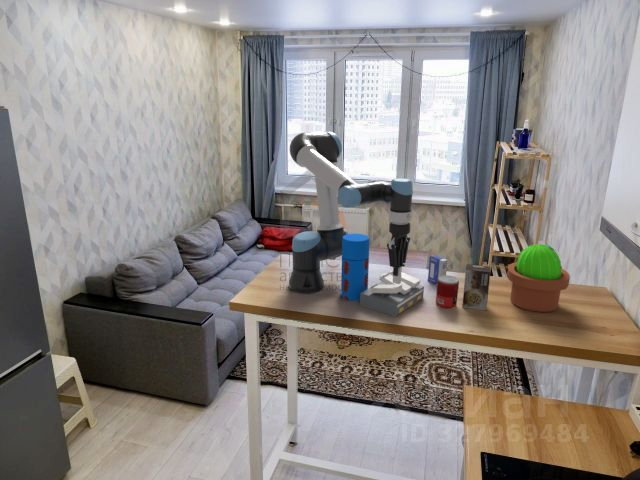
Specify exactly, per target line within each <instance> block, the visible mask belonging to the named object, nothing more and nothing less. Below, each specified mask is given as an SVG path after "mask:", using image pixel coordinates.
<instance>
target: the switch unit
mask: <svg viewBox="0 0 640 480" xmlns="http://www.w3.org/2000/svg"><path fill="white" fill-rule="evenodd" d="M377 284H378V285H387V284H385V283H384V282H382V281H379V282H378V283H377ZM424 291H425V286H424V285H421V284H419V285H418V286H416V287H415V288H413V287H411V290H410V292H408V293H406V294H405V295H404V294H402V293H401V292H398V293H370V289H369V288H368V289H367V290H365V291H363V292H361V293H360V300H359V305H360V306H362V307H366V308H368V309H371V310H374V311H377V312H380V313H382V314H383V313H384V314H385V315H389V316H392V317H394V318H395V317H397V316H398V315H400V314H401V313H403V312H404V311H405V310H407V309H409V308H410V307H412V306H414V305H415V304H416V303H417V302H419V301H420V300H422V299H423V298H424Z"/></svg>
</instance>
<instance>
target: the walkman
mask: <svg viewBox="0 0 640 480" xmlns="http://www.w3.org/2000/svg"><path fill="white" fill-rule="evenodd" d="M428 262H429V263H428V273H427V275H428V276H427V281H428V282H430V283H431V284H435V285H436V284H437V282H438V277H439V276H443V275H447V270H448V268H447V266H448V259H446V258H443V257H441V256H438V255H436V254H432V255H430V256H429V261H428Z"/></svg>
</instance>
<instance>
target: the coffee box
mask: <svg viewBox="0 0 640 480" xmlns="http://www.w3.org/2000/svg"><path fill="white" fill-rule="evenodd" d="M491 271H492V270H491V266H489V265H479V264H478V265H477V264H470V263H469V264H467V263H466V266H465V271H464V273H465V274H464V284H463V294H462V295H463V297H462V306H461V308H463V309H471V310H479V311H487V310H488V308H487V306H488V297H489V290H490V289H489V288H490V279H491Z"/></svg>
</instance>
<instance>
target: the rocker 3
mask: <svg viewBox="0 0 640 480" xmlns="http://www.w3.org/2000/svg"><path fill="white" fill-rule="evenodd" d="M388 273H389V274H390V275H392V276H393V269H391V270H390V271H389V272H388ZM401 281H402V282H404V283H406V284H407V285H409V286H411V287H413V288H415V287H416V286H418V285H421V280H420V279H418V278H417V277H414V276H412V275H410V274H407V273H405V272H403V271H402V273H401Z"/></svg>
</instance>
